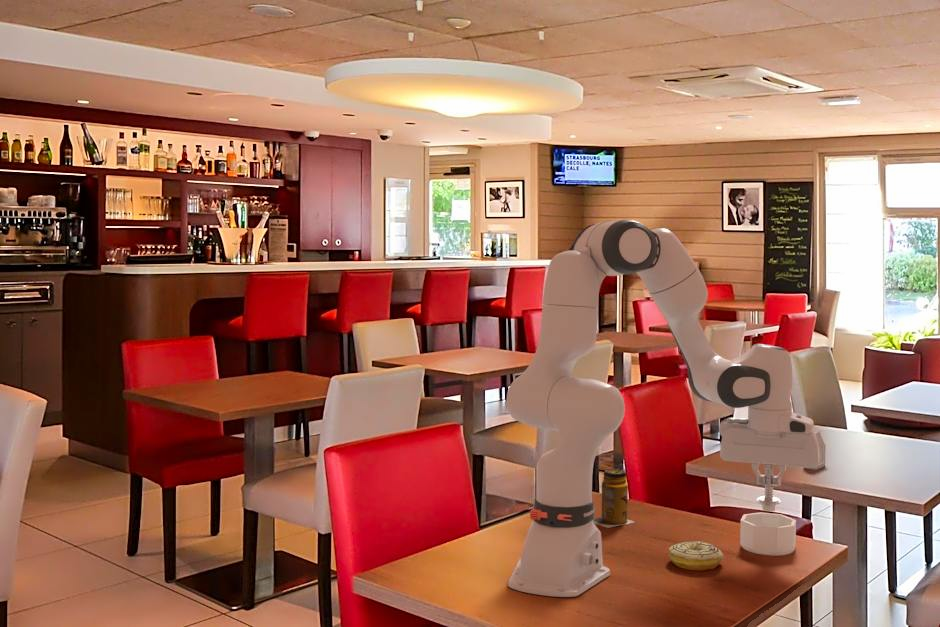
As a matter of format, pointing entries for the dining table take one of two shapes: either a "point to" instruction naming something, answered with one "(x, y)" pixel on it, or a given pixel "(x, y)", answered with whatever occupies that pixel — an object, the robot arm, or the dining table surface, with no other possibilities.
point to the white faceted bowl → (768, 534)
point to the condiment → (614, 499)
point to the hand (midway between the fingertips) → (768, 484)
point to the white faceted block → (820, 451)
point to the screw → (768, 491)
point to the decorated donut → (695, 555)
